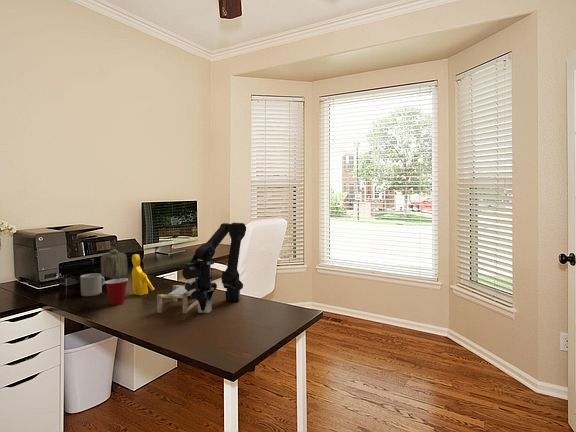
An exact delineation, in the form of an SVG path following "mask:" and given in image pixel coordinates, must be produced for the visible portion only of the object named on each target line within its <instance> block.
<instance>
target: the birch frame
mask: <svg viewBox="0 0 576 432" xmlns="http://www.w3.org/2000/svg"><path fill="white" fill-rule="evenodd" d="M180 286H183V287H185V284H184V285H181V284H180V285H176V284H173V285H172V291H174V290H176V289H177V288H179V287H180ZM195 290H196V289H193V290H191V291H189V292H188V293H187V294H185V295H168V294H162V293H161V294H160V293H158V294H157V295H156V302H157V303H156V305H157V308H156V310H157V313H158V314H159V313H160V314H162V312H163V298H169V299H171V298H172V303H175V302H178V299H182V314H188V312H190V311H191V310H192V309H193V308H194V307H195V306H196V305H198V300H197V299H195V301H194V302H193V303H191V304H190V305H188V297H190V296H189V295H190V294H192V293H193V292H194V291H195Z"/></svg>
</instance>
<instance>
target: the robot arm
mask: <svg viewBox="0 0 576 432" xmlns="http://www.w3.org/2000/svg"><path fill="white" fill-rule="evenodd" d="M246 232H247V226H246V224H245V223H243V222H231V223H230V222H229V223H228V222H223V223H221V224H220V225H219V228H218V229H217V230H216V231H215V232H214V233H213V235H212V236H211V237H210V238H209V239H208V240H207V241H206V242H204V243H202V244H200V246H198V247H197V248H196V249H195V251H194V254H193V256H192V258H191V260H190V262H189V263H185V265H184V266H183V268H182V271H181V274H182V277H183V278H184V280H188V281H189V280H191V279H195V280H192V281H193V282H188V281H187V282H188V283H187V282H185V283H184V285H185V289H186V290H187V292H189V291H190V290H193V289H196V290H195V291H194V292H193V293H192V294H191V296H190V299H192V300H196V299H197V300H198V302H199V304H200V307H201V310H202V311H204V310H205V307H206V303H207V300H208V299H212V297H214V293H215V290H216V289H217V288H218V284H217V283H216V282H212V279H213V276H212V273H211V272H212V271H211V265H214V264H215V262H214V261H213V260H212V259H213V257H214V256H215V253H216V249H217V247H218V246H219V245H220V244H221V242H222V241H223V240H224V239H225V238H226V236H227V235H229V237H230V246H229V253H228V260H227V265H226V266H227V267H226V269H225V270H222V272H221V278H220V279H221V284H222V286H223V288H224V289H226V291H225V302H226V303H239V302H240V301H241V299H242V297H241V290H243V288H244V283H242V281H241V280H240V273H239V271H238V265H239V257H240V253H241V252H240V251H241V242H242V240H243V239H244V237H245V235H246Z"/></svg>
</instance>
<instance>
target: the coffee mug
mask: <svg viewBox="0 0 576 432" xmlns="http://www.w3.org/2000/svg"><path fill="white" fill-rule="evenodd" d="M105 281H106V280H105V276H103V275H102V274H101V273H96V272H95V273H87V274H82V275H80V296H82V297H91V296H92V297H93V296H98V295H101V294H102V293H103V286H104V285H105V283H104V282H105ZM100 293H101V294H100Z"/></svg>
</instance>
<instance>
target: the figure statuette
mask: <svg viewBox="0 0 576 432" xmlns="http://www.w3.org/2000/svg"><path fill="white" fill-rule="evenodd" d="M131 262H132V265H133V267H132V270H131V277H132V284H131V288H132V294H133V295H137V296H143V295H148V294H149V289H150V291H151V292H152V291H154V290H155V287H153V284H152V283H151V281H150V280H149V278H148V276H147V274H146V273H145V272H143V269H142V267H141V257H140V254H138V253H135V254H132V256H131ZM148 287H149V288H148Z"/></svg>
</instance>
